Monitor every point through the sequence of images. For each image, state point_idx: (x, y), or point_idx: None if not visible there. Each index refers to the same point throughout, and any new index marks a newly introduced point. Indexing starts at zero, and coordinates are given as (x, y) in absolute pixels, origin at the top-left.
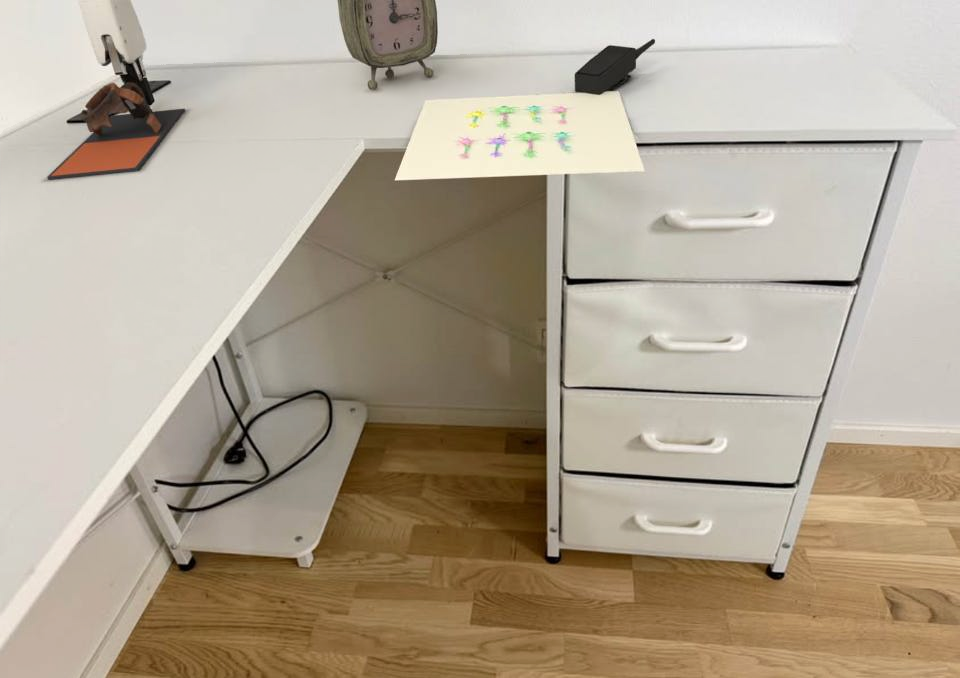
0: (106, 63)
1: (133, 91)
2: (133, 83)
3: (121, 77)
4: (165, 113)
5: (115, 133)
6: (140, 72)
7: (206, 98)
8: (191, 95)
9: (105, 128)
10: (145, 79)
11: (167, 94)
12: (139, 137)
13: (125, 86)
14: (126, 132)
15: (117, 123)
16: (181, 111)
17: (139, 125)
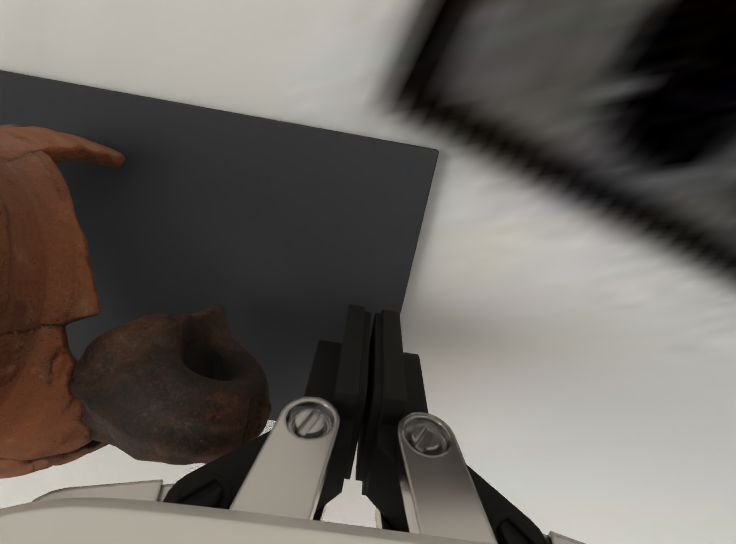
0: (198, 510)
1: (6, 475)
2: (206, 462)
3: (273, 432)
4: None
5: (119, 219)
6: (377, 516)
7: (496, 476)
8: (582, 437)
9: (209, 157)
10: (362, 483)
11: (686, 360)
12: None
13: (117, 437)
14: (122, 265)
15: (274, 207)
16: None
17: (206, 305)
